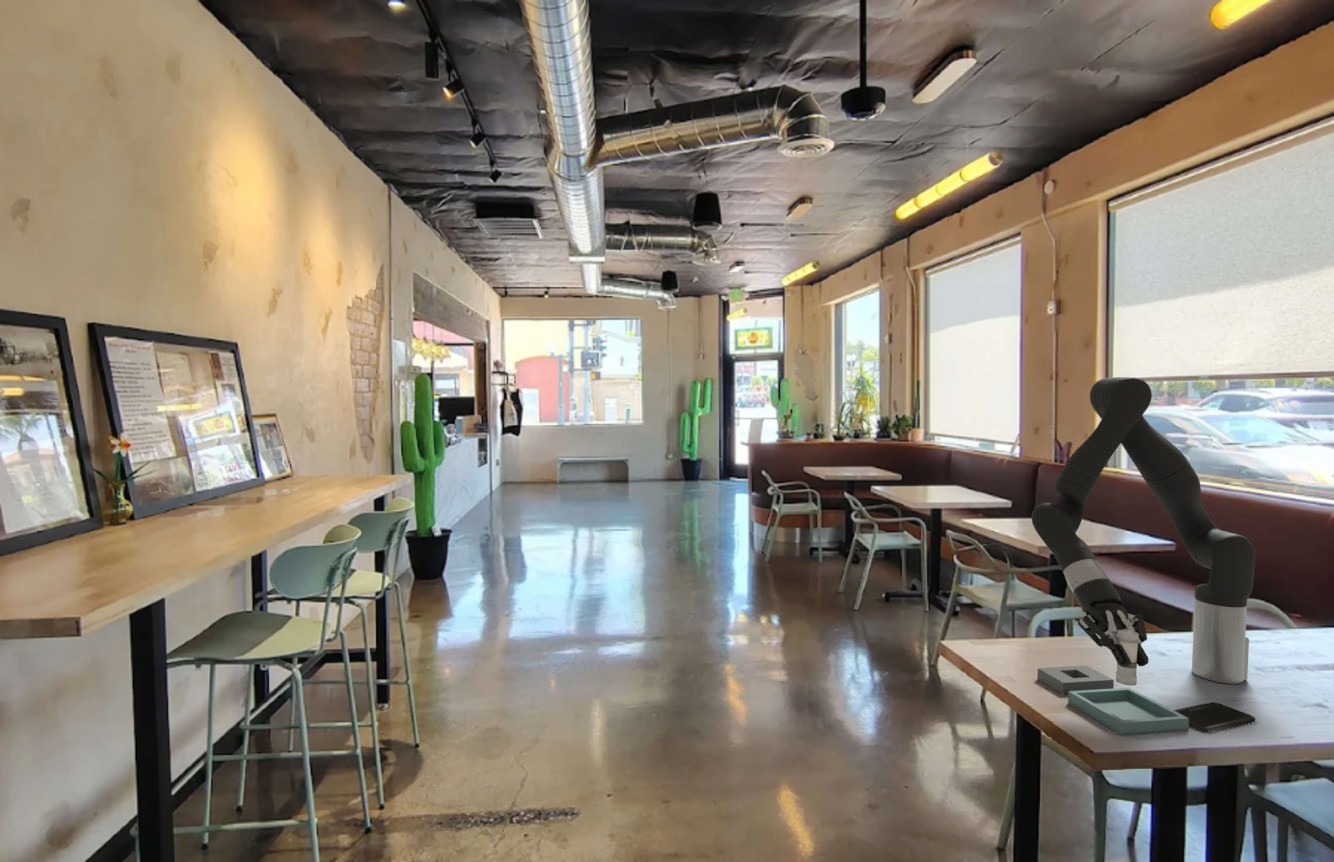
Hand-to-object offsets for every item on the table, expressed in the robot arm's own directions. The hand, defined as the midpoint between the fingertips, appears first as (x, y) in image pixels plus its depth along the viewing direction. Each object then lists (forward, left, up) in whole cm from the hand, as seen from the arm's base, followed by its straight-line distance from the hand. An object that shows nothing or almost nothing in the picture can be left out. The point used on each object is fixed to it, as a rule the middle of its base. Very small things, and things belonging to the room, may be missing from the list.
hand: (1135, 664), depth 133 cm
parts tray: (0, -2, -11) cm, 11 cm away
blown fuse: (0, -2, -4) cm, 5 cm away
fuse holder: (-1, -17, -11) cm, 20 cm away
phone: (-16, +1, -12) cm, 20 cm away
